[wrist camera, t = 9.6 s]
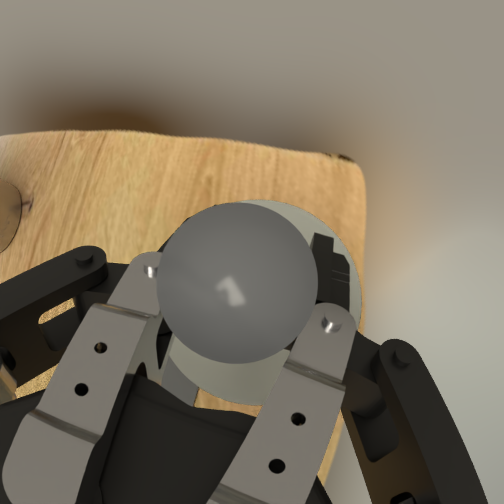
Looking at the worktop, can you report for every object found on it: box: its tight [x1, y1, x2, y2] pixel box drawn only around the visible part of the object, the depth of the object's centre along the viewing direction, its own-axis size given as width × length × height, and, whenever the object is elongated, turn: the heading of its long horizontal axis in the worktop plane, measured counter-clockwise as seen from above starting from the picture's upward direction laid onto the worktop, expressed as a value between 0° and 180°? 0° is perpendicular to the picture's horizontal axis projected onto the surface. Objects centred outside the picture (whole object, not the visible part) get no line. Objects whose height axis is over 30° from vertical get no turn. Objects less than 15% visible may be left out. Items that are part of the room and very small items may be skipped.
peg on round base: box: [156, 200, 362, 405], centre depth 11 cm, size 10×10×10 cm
